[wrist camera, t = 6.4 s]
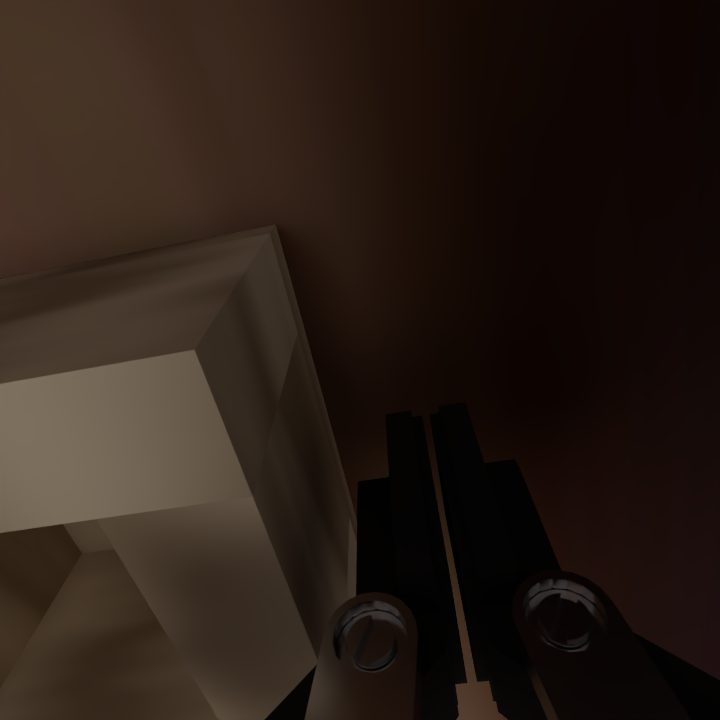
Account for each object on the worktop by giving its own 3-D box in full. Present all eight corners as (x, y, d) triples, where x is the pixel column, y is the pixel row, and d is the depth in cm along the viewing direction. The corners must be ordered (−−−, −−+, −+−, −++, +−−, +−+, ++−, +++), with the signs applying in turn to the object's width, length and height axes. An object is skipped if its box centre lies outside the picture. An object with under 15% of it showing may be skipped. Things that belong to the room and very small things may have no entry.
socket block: (277, 221, 11) (193, 350, 6) (364, 543, 15) (364, 779, 10) (-134, 303, 12) (-536, 478, 7) (65, 582, 16) (-76, 816, 11)
